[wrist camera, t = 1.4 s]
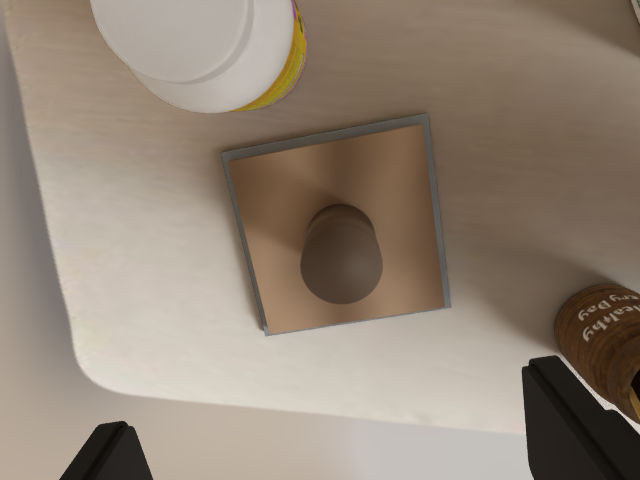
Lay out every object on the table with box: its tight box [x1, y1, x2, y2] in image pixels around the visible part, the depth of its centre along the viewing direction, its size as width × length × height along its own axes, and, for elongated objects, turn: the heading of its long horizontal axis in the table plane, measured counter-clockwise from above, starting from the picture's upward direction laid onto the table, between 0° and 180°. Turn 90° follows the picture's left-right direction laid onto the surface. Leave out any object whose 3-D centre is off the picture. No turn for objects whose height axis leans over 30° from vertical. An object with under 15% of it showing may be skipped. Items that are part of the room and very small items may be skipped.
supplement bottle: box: [90, 0, 308, 113], centre depth 20 cm, size 7×7×13 cm
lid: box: [228, 124, 445, 334], centre depth 25 cm, size 11×11×6 cm
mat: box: [220, 113, 451, 336], centre depth 28 cm, size 12×12×1 cm
